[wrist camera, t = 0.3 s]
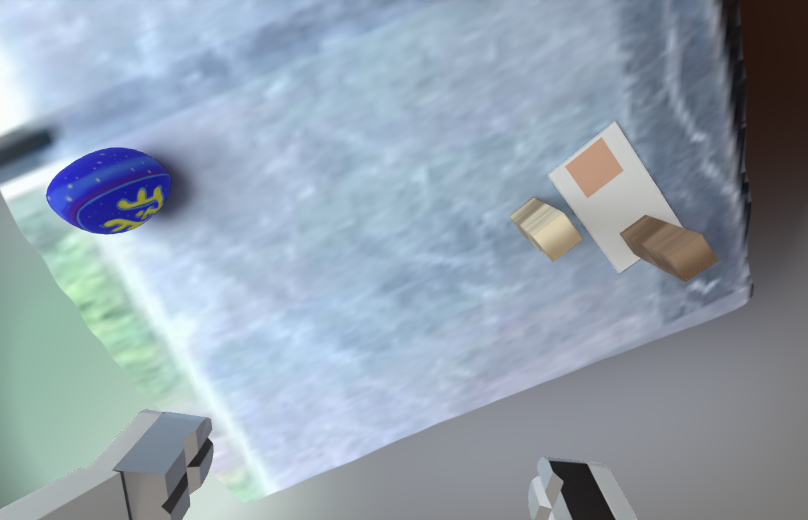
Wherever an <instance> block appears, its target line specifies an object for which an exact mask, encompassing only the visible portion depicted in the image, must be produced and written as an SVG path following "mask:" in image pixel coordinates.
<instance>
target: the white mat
mask: <svg viewBox="0 0 808 520" xmlns="http://www.w3.org/2000/svg"><path fill="white" fill-rule="evenodd" d="M547 176H548V178H549V179H550V180H551V182H552V183H553V185H554V186H555V187H556V189H557V190H558V191H559V193H560V194H561V195H562V197H563V198H564V200H565V201H566V202H567V204H568V205H569V206H570V208H571V209H572V211H573V212H574V213H575V215H576V216H577V217H578V219H579V220H580V222H581V223H582V224H583V226H584V227H585V228H586V230H587V231H588V233H589V234H590V235H591V237H592V238H593V239H594V241H595V242H596V243H597V245H598V246H599V248H600V249H601V250H602V252H603V253H604V254H605V256H606V257H607V259H608V260H609V261H610V263H611V264H612V265H613V267H614V268H615V270H616V271H617V272H618V273H619V274H620V273H621V272H622V271H624V270H625V269H627V268H628V267H630V266H631V265H632V264H634V263H635V262H637V261H638V260H639V259H641V258H640V257H638V256H636V255H634V254H633V252H632V251H631V249H630V248H629V247H628V245H627V244H626V242H625V241H624V239H623V238H622V237H621V235H620V233H621V232H622V231H624V230H625V229H626V228H628V227H629V226H631V225H632V224H633V223H635V222H636V221H637V220H639V219H640V218H642V217H643V216H644V215H648V216H651V217H653V218H656V219H659V220H662V221H665V222H668V223H671V224H673V225H676V226H679V227H682V225H681V224H680V222H679V221H678V219H677V217H676V216H675V214H674V213H673V211H672V210H671V208H670V206H669V205H668V203H667V202H666V200H665V199H664V197H663V196H662V194H661V192H660V191H659V189H658V188H657V186H656V185H655V183H654V181H653V180H652V178H651V177H650V175H649V174H648V172H647V170H646V169H645V167H644V166H643V164H642V163H641V161H640V159H639V158H638V156H637V155H636V153H635V152H634V150H633V148H632V147H631V145H630V144H629V142H628V141H627V139H626V138H625V136H624V134H623V133H622V131H621V130H620V128H619V127H618V125H617V123H616V122H612V123H611V124H610V125H608V126H607V127H606V128H605V129H603V130H602V131H601V132H600V133H598V134H597V135H596V136H595V137H593V138H592V139H591V140H590V141H588V142H587V143H586V144H585V145H583V146H582V147H581V148H580V149H578V150H577V151H576V152H575V153H574V154H572V155H571V156H570V157H569V158H567V159H566V160H565V161H564V162H562V163H561V164H560V165H559V166H557V167H556V168H555V169H554V170H552V171H551V172H550V173H549V174H547ZM682 228H683V227H682Z"/></svg>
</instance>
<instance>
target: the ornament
mask: <svg viewBox="0 0 808 520" xmlns="http://www.w3.org/2000/svg"><path fill="white" fill-rule="evenodd" d="M170 186H171V178H170V175H169V174H168V172H167V171H166V170H165V169H164V168H163V167H162V166H161V165H160V164H159V163H158V162H157V161H156V160H154V159H153V158H152V157H150V156H148V155H146V154H144V153H142V152H140V151H137V150H134V149H128V148H107V149H102V150H98V151H95V152H92V153H90V154H88V155H85V156H83V157H82V158H80V159H78V160H76V161H74V162H73V163H71V164H70V165H69V166H67V167H66V168H64V169H63V170H62V171H60V172H59V173H58V174H57V175H56V176H55V177H54V179H53V180H52V182H51V183H50V185H49V186H48V189H47V194H46V197H47V201H48V203H49V205H50V207H51V208H52V209H53V210H54V211H55V212H56V213H57V214H58V215H59V216H60V217H61V218H63V219H64V220H66V221H67V222H68V223H70V224H72V225H74V226H76V227H78V228H80V229H82V230H85V231H88V232H91V233H97V234H116V233H122V232H126V231H129V230H132V229H135V228H137V227H138V226H140V225H142V224H143V223H145V222H146V221H147V220H149V219H150V218H151V217H152V216H153V215H155V214H156V212H157V211H158V210H159V209H160V208H161V207H162V206H163V204H164V202H165V200H166V199H167V197H168V195H169V192H170Z"/></svg>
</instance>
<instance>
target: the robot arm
mask: <svg viewBox="0 0 808 520" xmlns="http://www.w3.org/2000/svg"><path fill="white" fill-rule="evenodd" d="M211 431H212V424H211V419H209V418H207V417H200V416H193V415H186V414H179V413H172V412H163V411H156V410H148V409H145V410H143V411H141V412H139V413H138V414H137V415H136V416H135V417H134V418H133V419H132V420H131V421H130V423H128V425H127V426H126V427H125V428H124V429H123V430H122V431H121V432H120V433H119V434H118V435H117V436H116V438H115V439H114V440H113V441H112V442H111V443H110V444H109V445H108V446H107V447H106V448H105V449H104V451H103V452H102V453H101V454H100V455H99V456H98V457H97V458H96V459H95V460H94V461H93V462H92V463H91V465H90V466H89V467H88V468H78V469H76V470H74V471H73V472H71V473H69V474H67V475H65V476H63V477H61V478H59V479H57V480H56V481H53V482H52V483H50V484H48V485H46V486H44V487H42V488H40V489H38V490H36V491H34V492H32V493H30V494H29V495H27V496H25V497H23V498H21V499H19V500H17V501H15V502H13V503H11V504H9V505H8V506H6V507H4V508H2V509H0V520H182V519H183V517H184V515H185V514H186V512H187V510H188V508H189V507H190V497H189V495H190V494H191V493H192V492H194V491H195V490H197V489H198V488H200V487H201V485H202V484H203V482H204V480H205V478H206V476H207V474H208V471H209V469H210V466H211V463H212V459H213V452H214V451H213V443H212V442H211V441H210V439H209V438H208V436H209V434H210V432H211ZM537 470H538V473H539V476H537V477H536V478H535V479H533V480H532V481H531V485H530V487H529V495H528V496H529V497H528V504H529V511H530V515H531V519H532V520H638V519H637V517H636V516H635V514H634V512H633V510H632V509H631V507H630V505H629V503H628V501H627V500H626V498H625V496H624V494H623V493H622V491H621V489H620V487H619V486H618V484H617V482H616V480H615V479H614V477H613V475H612V473H611V471H610V470H609V468H608V467H607V466H606V465H605V464H604V463H598V462H589V461H580V460H572V459H561V458H553V457H542V458H541V459H540V460H539V462H538V465H537Z"/></svg>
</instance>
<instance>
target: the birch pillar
mask: <svg viewBox="0 0 808 520" xmlns="http://www.w3.org/2000/svg"><path fill="white" fill-rule="evenodd" d="M509 217H510V219H511V220H512V221H513V223H514V224H515V225H516V226H517V228H518V229H519V230H520V231H521V233H522V234H523V235H524V236H525V238H527V239H528V240H529V241H530V242H531V243H532V244H533V245H535V246H536V247H537V248H538V249H539V250H540V251H541V252H543V253H544V254H545V255H546V256H547V257H548V258H549V259H551V260H552V261H555V260H556V259H557V258H559V257H560V256H561V255H563V254H564V253H565V252H567V251H568V250H570V249H571V248H572V247H574V246H575V245H576V244H578V243H579V242H580V241H582V240H583V238H582V237H581V236H580V234H579V233H578V232H577V230H576V229H575V228H574V226H573V225H572V223H571V222H570V221H569V219H568V218H567V217H566V215H565V214H564V213H563V212H561V211H559V210H557V209H555V208H553V207H551V206H550V205H548V204H546V203H544V202H542V201H540V200H538V199H536V198H534V197H532V198H531V199H530V200H528V201H527V202H526V203H524V204H523V205H522V206H521V207H519V208H518V209H517V210H516V211H514V212H513V213H512V214H511V215H509Z"/></svg>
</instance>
